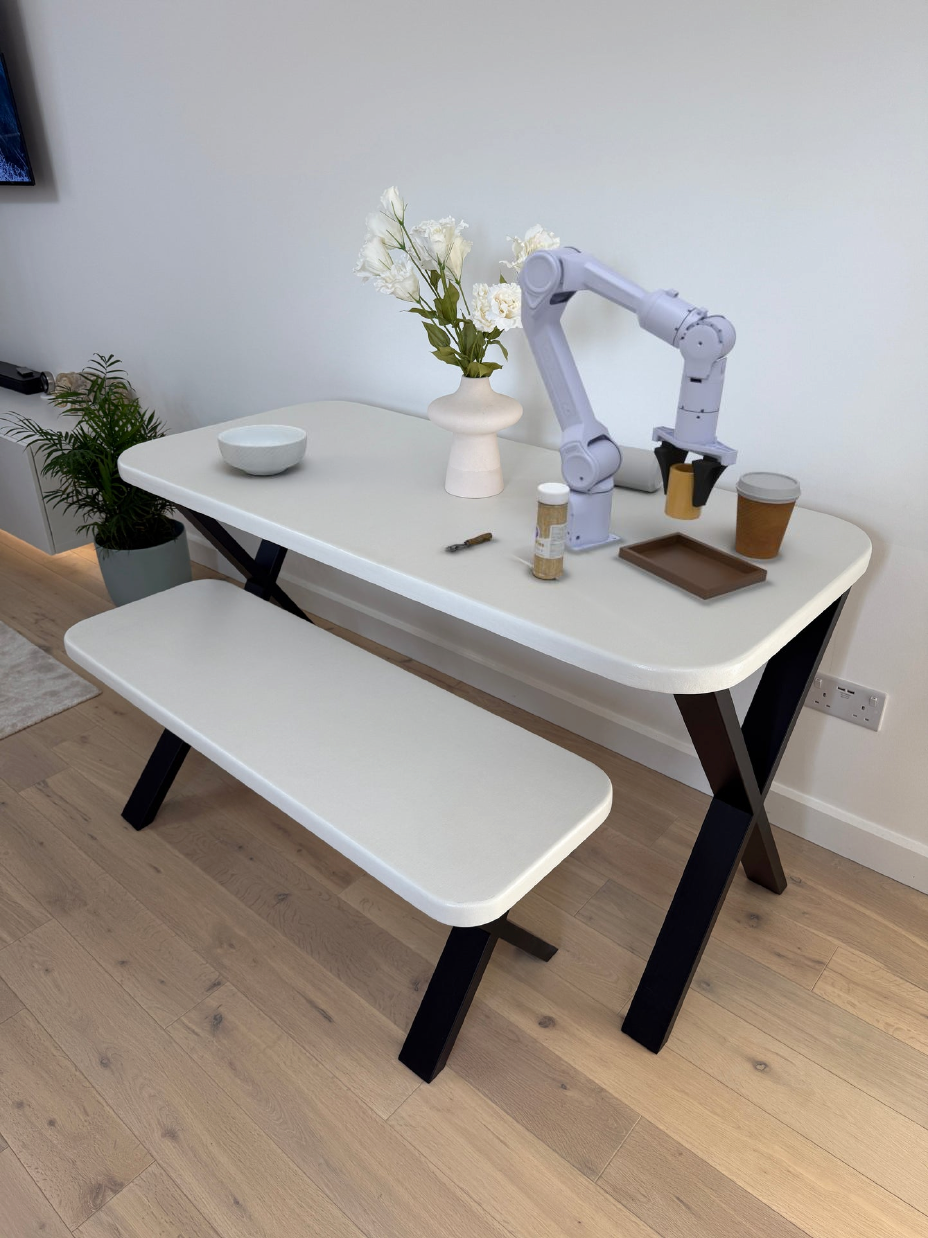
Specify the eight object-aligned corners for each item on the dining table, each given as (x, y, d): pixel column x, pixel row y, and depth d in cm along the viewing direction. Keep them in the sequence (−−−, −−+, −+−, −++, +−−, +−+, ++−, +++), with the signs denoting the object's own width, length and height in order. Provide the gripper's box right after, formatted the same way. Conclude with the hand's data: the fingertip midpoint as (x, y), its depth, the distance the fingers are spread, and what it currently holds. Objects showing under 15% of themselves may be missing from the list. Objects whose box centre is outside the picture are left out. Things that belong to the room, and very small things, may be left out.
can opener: (488, 537, 137) (488, 531, 136) (497, 542, 135) (497, 535, 135) (441, 549, 132) (441, 542, 132) (450, 554, 131) (450, 547, 130)
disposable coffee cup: (755, 570, 127) (770, 494, 122) (711, 548, 135) (723, 475, 129) (801, 559, 131) (817, 485, 126) (756, 538, 139) (769, 467, 133)
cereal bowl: (326, 470, 167) (324, 434, 164) (254, 489, 156) (250, 451, 153) (275, 451, 178) (272, 418, 174) (204, 468, 167) (200, 433, 163)
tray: (704, 603, 117) (706, 590, 116) (618, 559, 130) (619, 547, 129) (765, 583, 124) (767, 570, 123) (676, 543, 137) (678, 531, 136)
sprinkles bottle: (527, 570, 126) (532, 483, 120) (554, 566, 128) (560, 479, 122) (541, 582, 122) (547, 493, 116) (569, 578, 124) (576, 489, 118)
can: (667, 444, 156) (606, 433, 162) (651, 471, 153) (590, 460, 158) (668, 474, 162) (610, 463, 167) (654, 501, 158) (594, 489, 164)
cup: (682, 522, 124) (689, 476, 120) (657, 511, 127) (663, 466, 124) (707, 516, 126) (715, 470, 123) (682, 505, 130) (688, 461, 127)
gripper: (758, 415, 116) (741, 510, 122) (681, 394, 127) (669, 481, 133) (722, 422, 113) (707, 518, 119) (646, 399, 123) (635, 488, 130)
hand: (684, 499), depth 126 cm, fingers closed on cup, 5 cm apart
